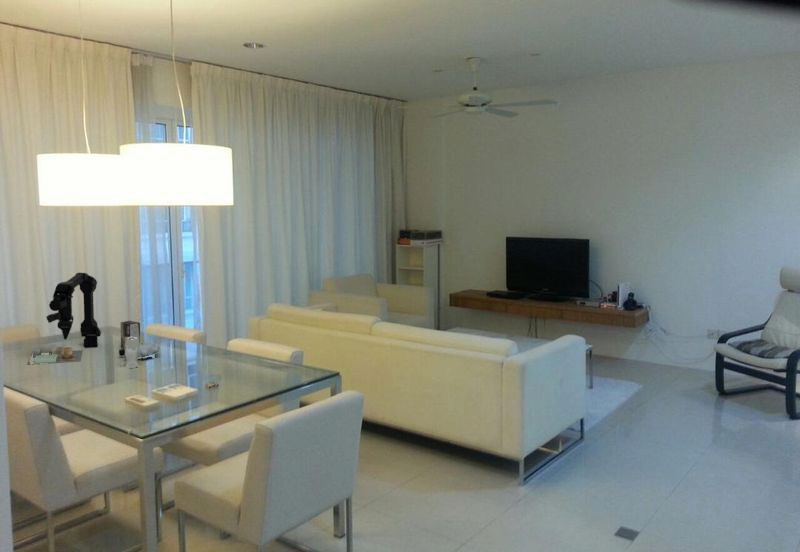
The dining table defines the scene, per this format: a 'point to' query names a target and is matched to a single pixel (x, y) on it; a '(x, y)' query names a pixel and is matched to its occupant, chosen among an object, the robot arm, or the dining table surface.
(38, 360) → the tray
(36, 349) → the bench stop
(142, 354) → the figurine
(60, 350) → the beige slab
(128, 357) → the beer glass
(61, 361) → the socket
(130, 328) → the coffee box
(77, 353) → the mat
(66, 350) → the dowel
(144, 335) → the dining table surface
